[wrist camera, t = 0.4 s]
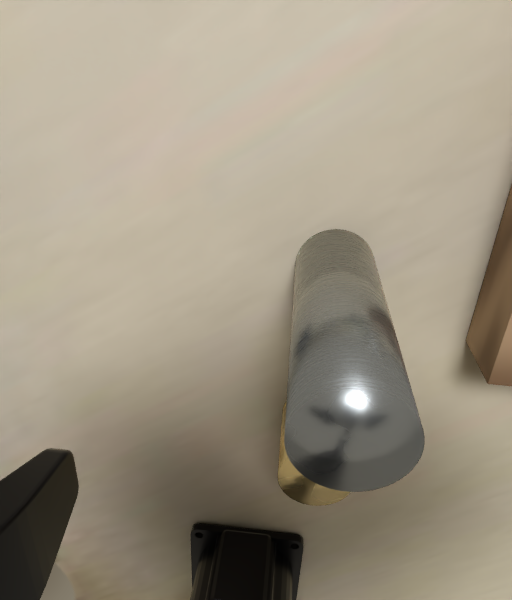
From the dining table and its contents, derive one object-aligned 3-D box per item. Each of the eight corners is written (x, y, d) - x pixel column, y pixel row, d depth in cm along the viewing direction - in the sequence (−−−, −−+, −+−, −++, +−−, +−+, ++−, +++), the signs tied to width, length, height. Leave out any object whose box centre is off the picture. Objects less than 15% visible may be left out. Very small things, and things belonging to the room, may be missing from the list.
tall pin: (367, 303, 21) (409, 498, 12) (292, 297, 21) (279, 484, 12) (380, 232, 19) (438, 396, 10) (298, 226, 19) (289, 382, 11)
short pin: (343, 442, 25) (349, 509, 21) (280, 435, 25) (275, 501, 21) (352, 392, 23) (360, 455, 20) (284, 385, 23) (280, 447, 20)
